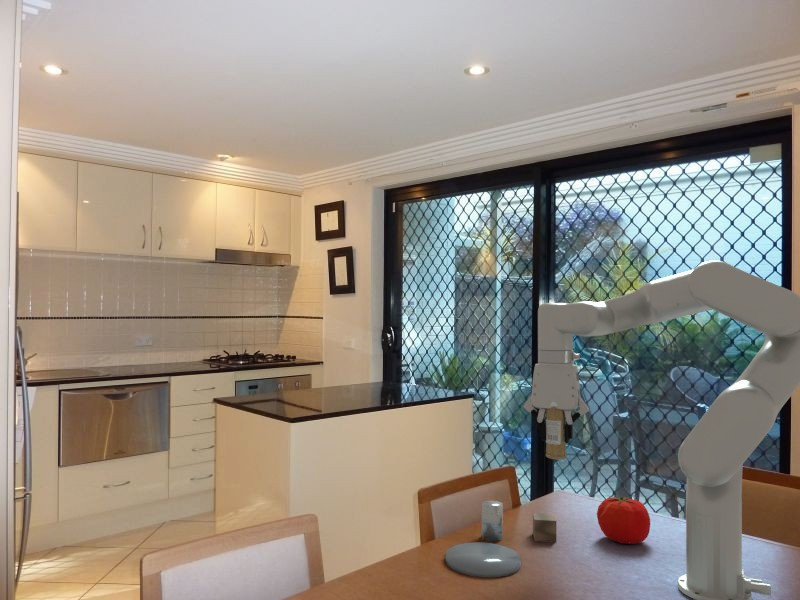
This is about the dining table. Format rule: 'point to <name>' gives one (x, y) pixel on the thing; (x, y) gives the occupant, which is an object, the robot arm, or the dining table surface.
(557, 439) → the sprinkles bottle
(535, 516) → the walnut block
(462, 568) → the grey plate
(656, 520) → the dining table surface
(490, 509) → the metal tin
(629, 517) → the tomato
